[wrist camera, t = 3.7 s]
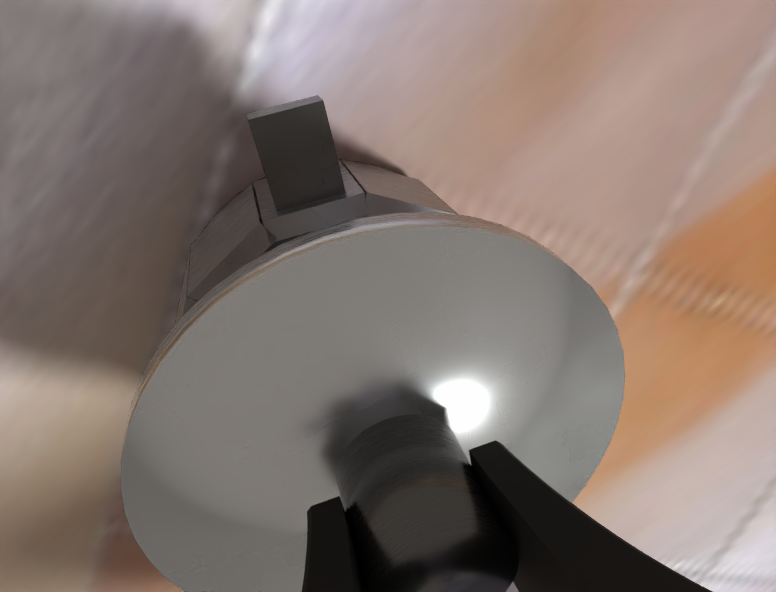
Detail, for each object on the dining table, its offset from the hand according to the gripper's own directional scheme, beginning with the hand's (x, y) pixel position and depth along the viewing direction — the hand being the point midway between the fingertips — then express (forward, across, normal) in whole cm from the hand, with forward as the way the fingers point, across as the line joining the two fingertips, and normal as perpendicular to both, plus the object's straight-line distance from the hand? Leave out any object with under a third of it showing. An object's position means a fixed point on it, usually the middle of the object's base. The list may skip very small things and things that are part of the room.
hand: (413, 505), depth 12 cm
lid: (+3, 0, 0) cm, 3 cm away
